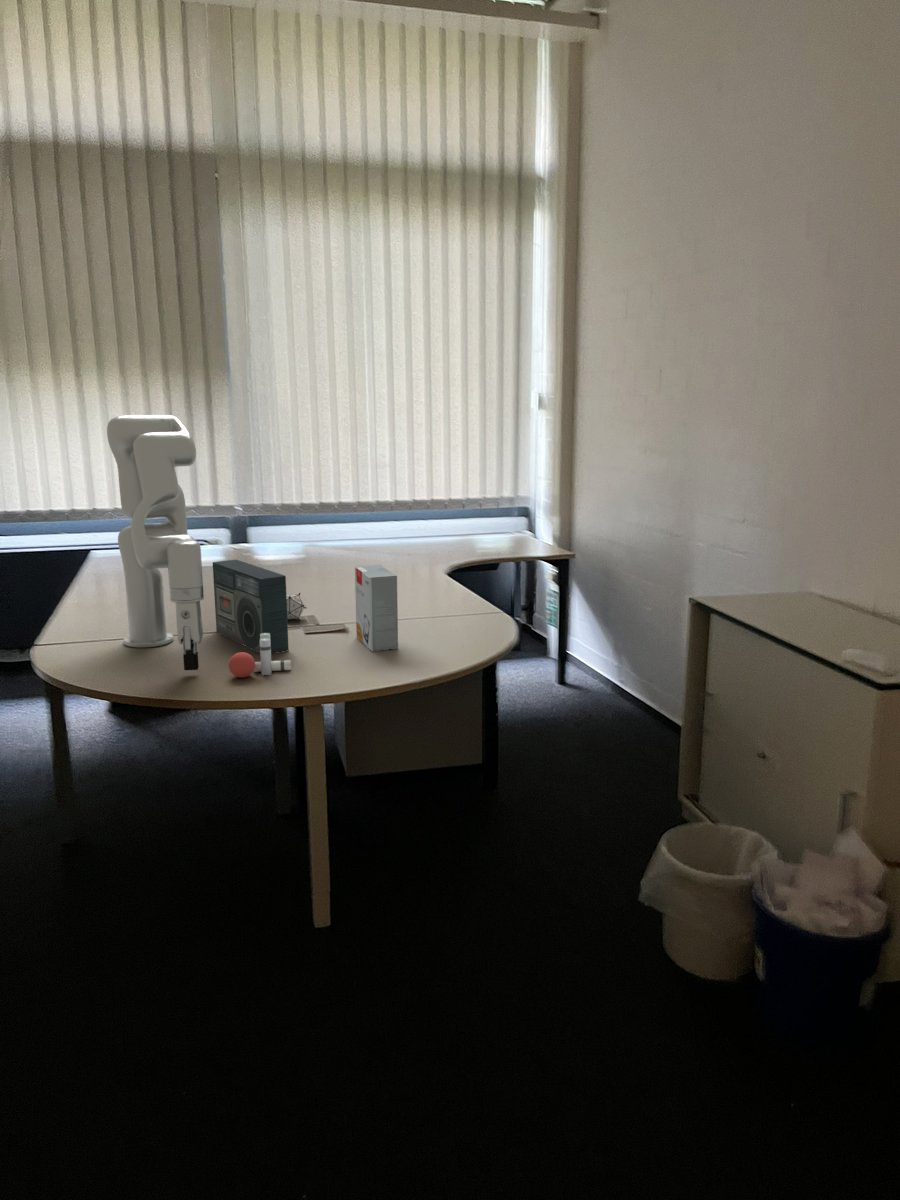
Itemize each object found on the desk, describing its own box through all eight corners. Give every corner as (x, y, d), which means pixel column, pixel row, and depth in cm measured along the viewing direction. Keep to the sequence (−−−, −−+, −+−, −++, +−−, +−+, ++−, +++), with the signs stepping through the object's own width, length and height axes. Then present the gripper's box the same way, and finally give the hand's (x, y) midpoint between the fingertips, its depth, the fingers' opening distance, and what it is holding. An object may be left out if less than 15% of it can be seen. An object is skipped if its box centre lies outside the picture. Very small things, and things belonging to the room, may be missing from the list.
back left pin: (259, 667, 217) (258, 633, 215) (269, 665, 218) (268, 632, 216) (263, 670, 215) (262, 636, 213) (273, 668, 216) (271, 634, 214)
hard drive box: (355, 637, 244) (354, 566, 240) (382, 634, 247) (381, 564, 242) (370, 652, 230) (369, 576, 226) (399, 649, 233) (398, 574, 228)
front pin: (254, 659, 213) (290, 657, 215) (255, 666, 215) (290, 665, 216) (254, 666, 211) (290, 665, 213) (254, 674, 213) (290, 672, 214)
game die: (297, 630, 265) (314, 602, 267) (293, 627, 257) (311, 598, 258) (271, 615, 266) (289, 586, 267) (266, 611, 257) (285, 582, 259)
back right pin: (259, 673, 212) (257, 639, 210) (269, 672, 213) (267, 637, 211) (263, 676, 210) (261, 641, 208) (273, 674, 211) (271, 640, 209)
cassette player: (216, 632, 249) (212, 562, 245) (239, 628, 253) (236, 559, 249) (264, 656, 227) (260, 579, 223) (288, 651, 231) (285, 575, 227)
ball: (258, 672, 212) (234, 666, 213) (259, 650, 209) (235, 645, 210) (248, 685, 207) (224, 679, 208) (249, 663, 204) (224, 657, 205)
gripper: (200, 599, 200) (205, 677, 204) (205, 586, 214) (210, 659, 218) (166, 601, 198) (171, 679, 203) (173, 587, 213) (178, 661, 217)
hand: (191, 669), depth 210 cm, fingers closed
